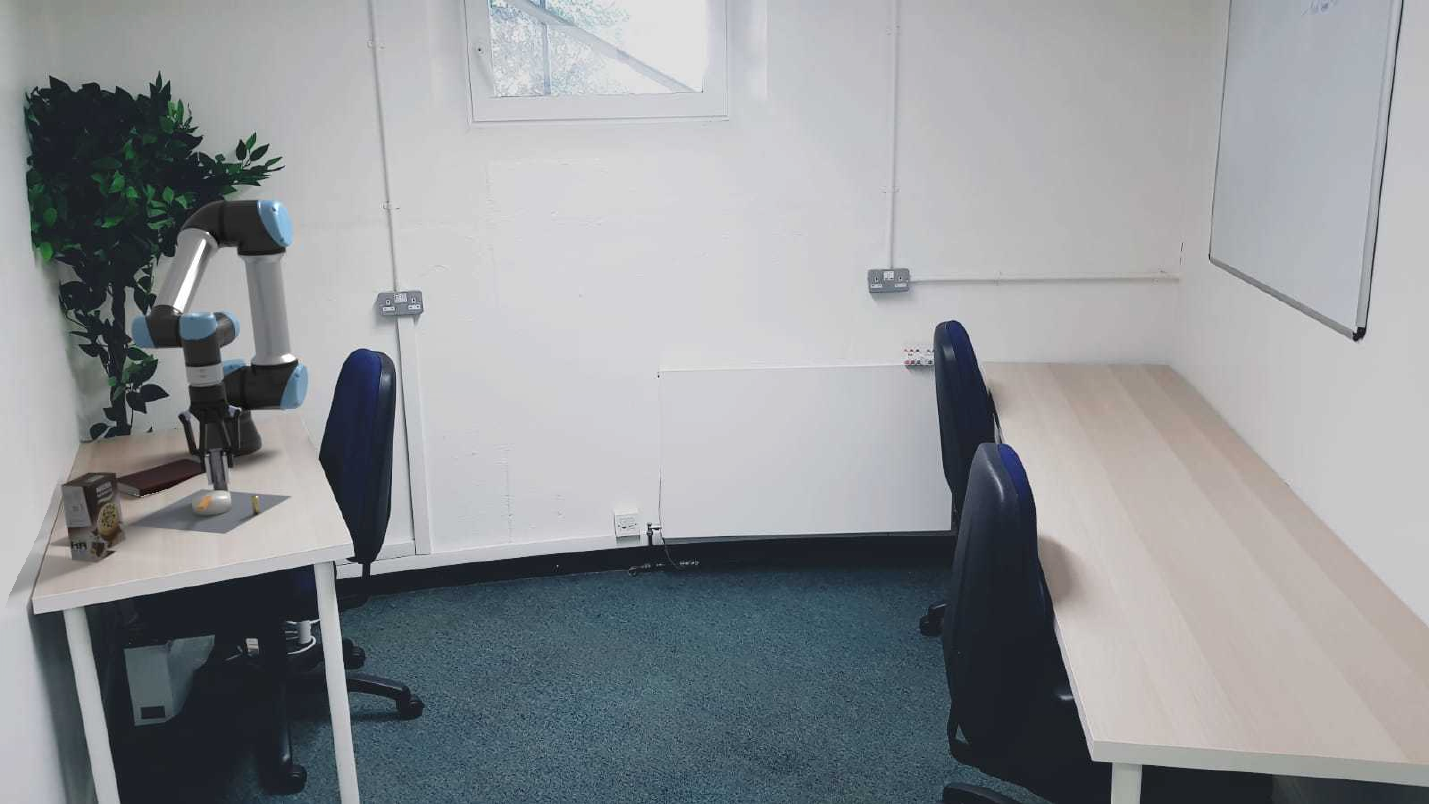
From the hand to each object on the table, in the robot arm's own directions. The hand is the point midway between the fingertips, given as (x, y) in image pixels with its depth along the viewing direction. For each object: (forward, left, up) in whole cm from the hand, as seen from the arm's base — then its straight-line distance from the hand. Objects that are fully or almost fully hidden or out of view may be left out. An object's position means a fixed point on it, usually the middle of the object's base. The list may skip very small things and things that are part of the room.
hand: (219, 482), depth 274 cm
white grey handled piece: (+8, +4, -4) cm, 10 cm away
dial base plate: (+8, +4, -5) cm, 10 cm away
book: (-10, -24, -6) cm, 27 cm away
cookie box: (+32, -5, -5) cm, 33 cm away
